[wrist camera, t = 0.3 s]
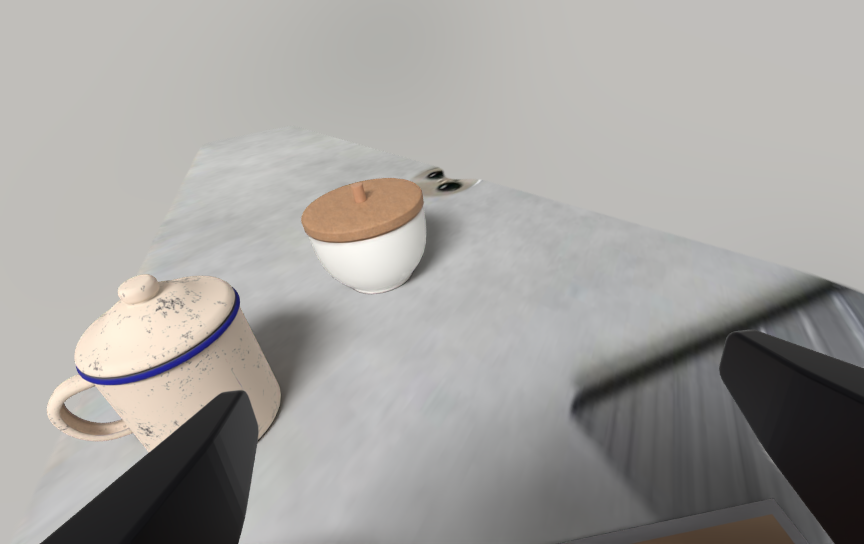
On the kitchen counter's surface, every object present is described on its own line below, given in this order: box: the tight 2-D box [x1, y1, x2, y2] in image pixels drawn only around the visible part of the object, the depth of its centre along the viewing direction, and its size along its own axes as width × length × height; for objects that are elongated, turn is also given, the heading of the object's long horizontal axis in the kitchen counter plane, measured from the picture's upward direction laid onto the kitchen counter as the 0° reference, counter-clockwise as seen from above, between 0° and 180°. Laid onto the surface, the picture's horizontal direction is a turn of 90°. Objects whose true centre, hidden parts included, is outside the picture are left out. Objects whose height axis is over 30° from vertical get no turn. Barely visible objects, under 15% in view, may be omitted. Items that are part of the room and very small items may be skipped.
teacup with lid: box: [47, 274, 281, 452], centre depth 28 cm, size 12×9×12 cm
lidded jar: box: [301, 178, 427, 294], centre depth 42 cm, size 11×11×9 cm
